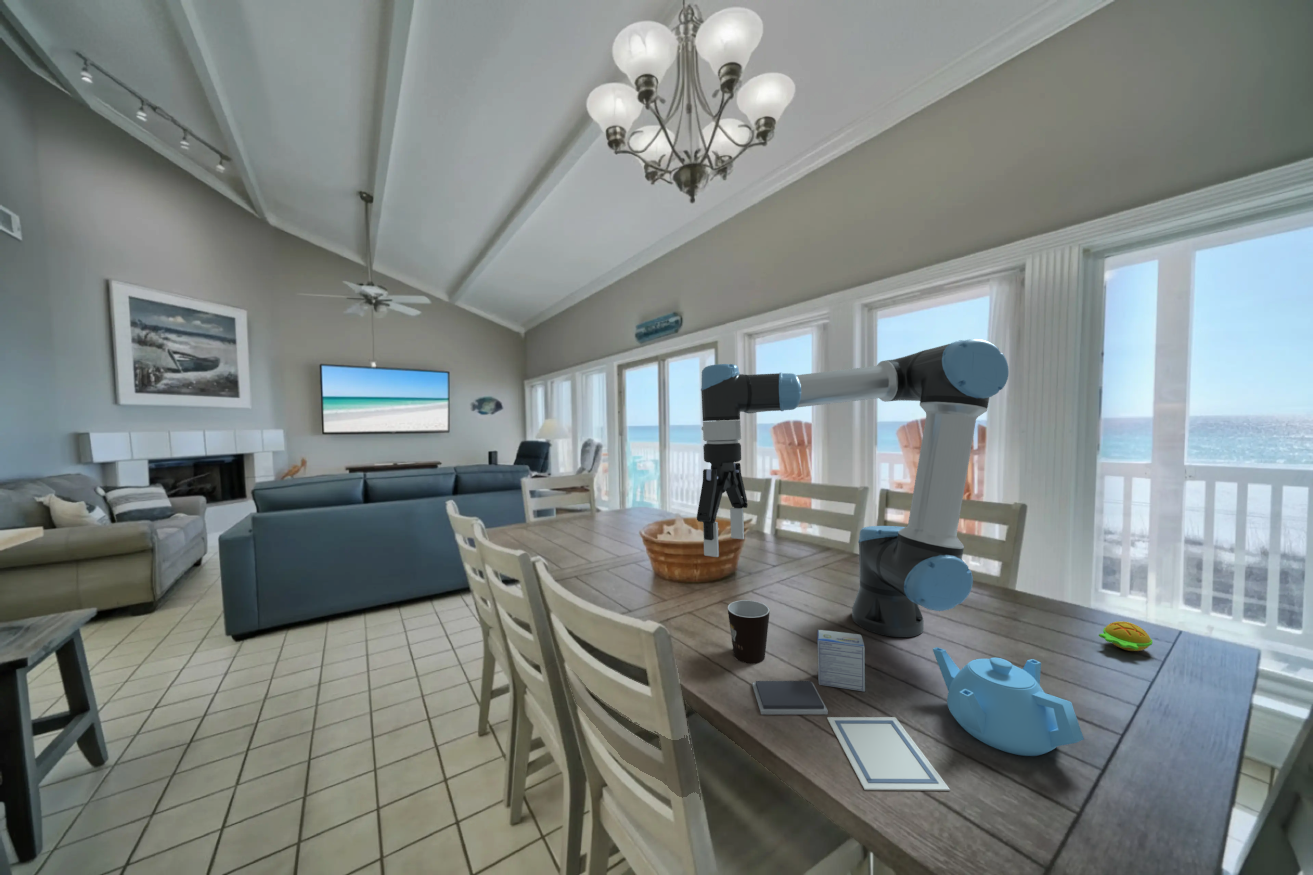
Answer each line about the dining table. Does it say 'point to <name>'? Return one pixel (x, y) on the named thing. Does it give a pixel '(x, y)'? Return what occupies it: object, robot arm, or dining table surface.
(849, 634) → the medicine box
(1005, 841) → the dining table surface
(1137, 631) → the toy burger
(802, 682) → the ink pad
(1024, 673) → the teapot
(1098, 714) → the dining table surface
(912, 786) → the print sheet
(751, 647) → the coffee mug
